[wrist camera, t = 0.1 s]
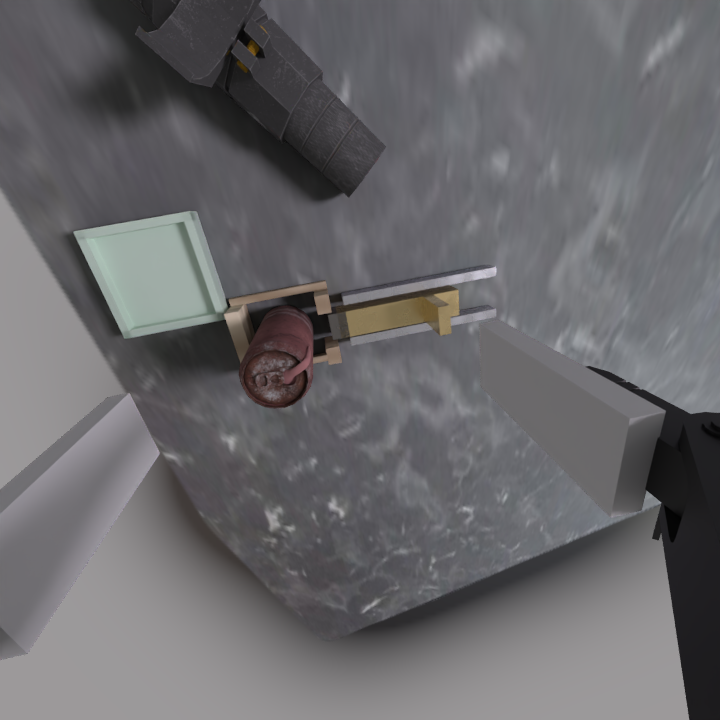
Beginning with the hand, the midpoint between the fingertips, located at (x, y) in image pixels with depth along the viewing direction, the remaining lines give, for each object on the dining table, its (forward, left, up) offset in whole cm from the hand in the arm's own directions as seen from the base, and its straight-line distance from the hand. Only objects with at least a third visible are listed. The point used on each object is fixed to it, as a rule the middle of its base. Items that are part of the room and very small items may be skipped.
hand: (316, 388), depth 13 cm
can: (+6, -4, -28) cm, 29 cm away
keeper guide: (+6, +12, -28) cm, 31 cm away
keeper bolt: (+6, +9, -28) cm, 30 cm away
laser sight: (-17, 0, -28) cm, 33 cm away
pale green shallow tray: (-3, -16, -28) cm, 32 cm away
